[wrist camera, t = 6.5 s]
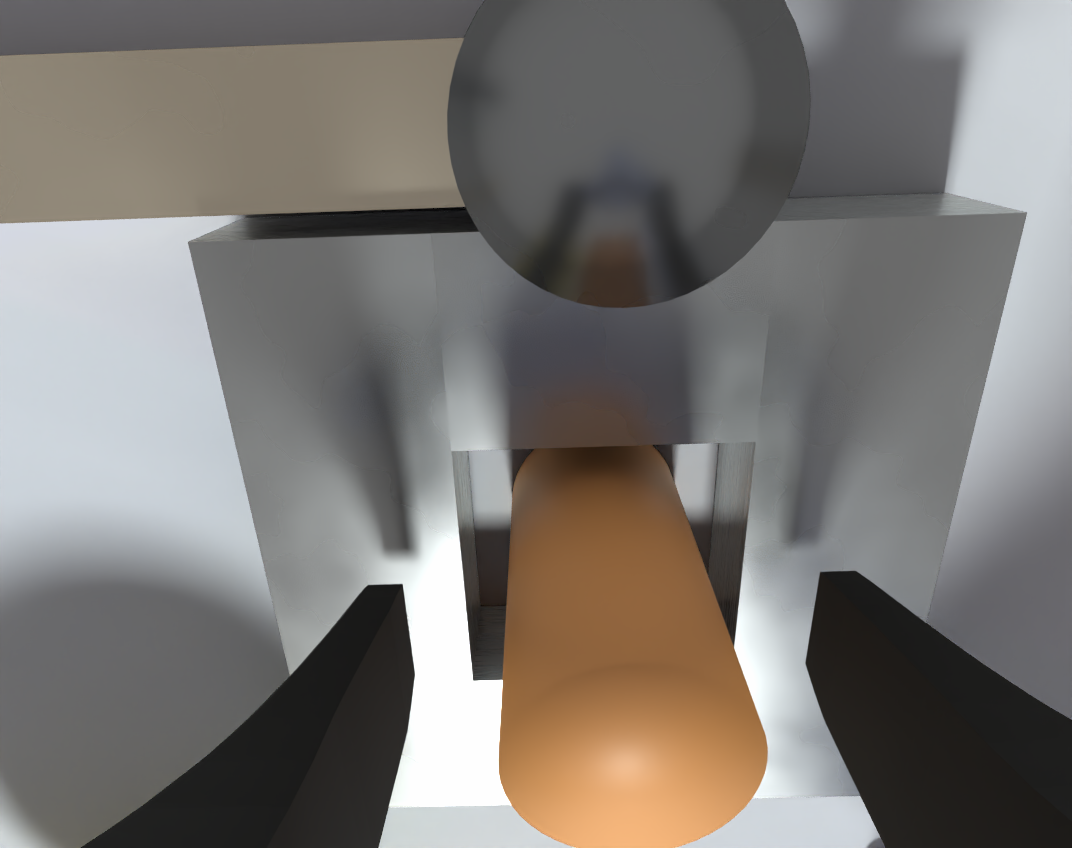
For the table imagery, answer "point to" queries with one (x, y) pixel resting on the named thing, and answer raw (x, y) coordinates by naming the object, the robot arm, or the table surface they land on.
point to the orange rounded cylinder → (618, 660)
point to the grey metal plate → (543, 317)
